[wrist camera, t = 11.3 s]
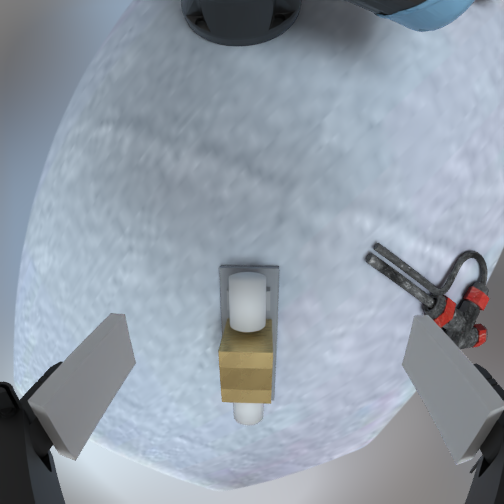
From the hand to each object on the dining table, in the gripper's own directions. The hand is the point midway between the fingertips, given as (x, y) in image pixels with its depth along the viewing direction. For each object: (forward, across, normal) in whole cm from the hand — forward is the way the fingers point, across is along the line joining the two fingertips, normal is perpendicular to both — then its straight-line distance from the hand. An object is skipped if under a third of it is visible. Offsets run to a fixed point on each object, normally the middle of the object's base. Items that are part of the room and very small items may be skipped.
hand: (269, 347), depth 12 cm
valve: (+25, +24, -7) cm, 35 cm away
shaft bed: (+23, -3, -14) cm, 27 cm away
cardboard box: (+22, -2, -14) cm, 26 cm away
